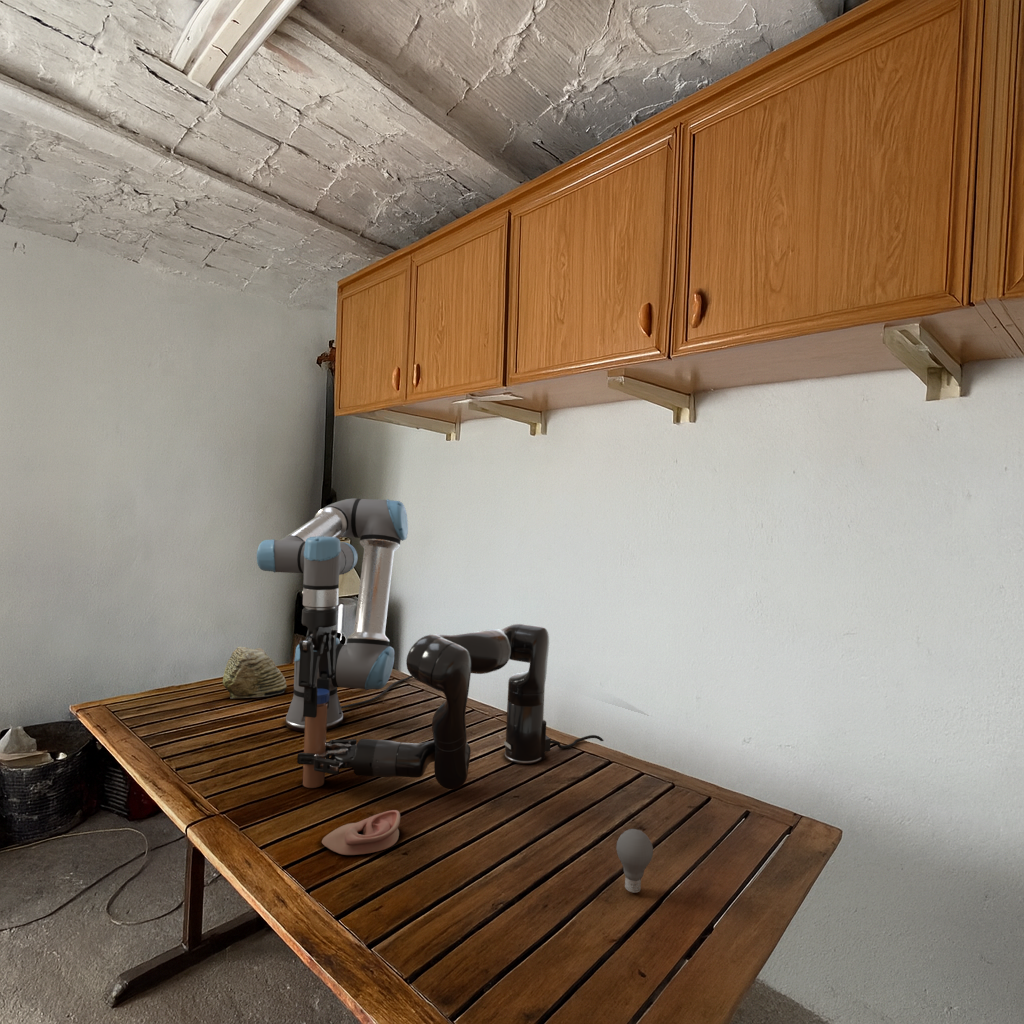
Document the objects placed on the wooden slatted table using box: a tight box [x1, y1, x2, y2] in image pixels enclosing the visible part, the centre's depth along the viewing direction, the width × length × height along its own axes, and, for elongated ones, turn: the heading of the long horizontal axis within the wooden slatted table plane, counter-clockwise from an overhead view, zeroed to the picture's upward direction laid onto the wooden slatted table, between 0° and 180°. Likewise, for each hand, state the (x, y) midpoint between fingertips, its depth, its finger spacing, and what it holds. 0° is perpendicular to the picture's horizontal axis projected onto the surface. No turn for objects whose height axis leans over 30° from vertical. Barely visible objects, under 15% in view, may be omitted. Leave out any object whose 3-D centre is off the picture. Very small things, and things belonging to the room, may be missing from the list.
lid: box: [317, 688, 330, 704], centre depth 139 cm, size 5×5×2 cm
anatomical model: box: [321, 809, 401, 856], centre depth 118 cm, size 13×4×12 cm
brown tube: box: [302, 702, 327, 789], centre depth 140 cm, size 5×5×19 cm
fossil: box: [222, 646, 288, 699], centre depth 198 cm, size 9×18×15 cm, turn 132°
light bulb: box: [615, 828, 654, 894], centre depth 106 cm, size 6×6×10 cm
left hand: (316, 711), depth 140 cm, fingers closed on lid, 5 cm apart
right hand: (302, 753), depth 140 cm, fingers closed on brown tube, 4 cm apart
